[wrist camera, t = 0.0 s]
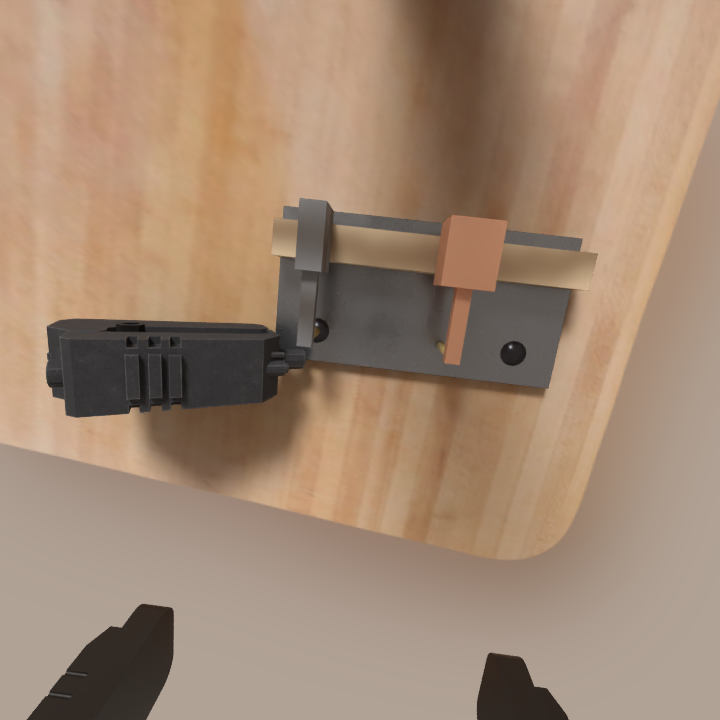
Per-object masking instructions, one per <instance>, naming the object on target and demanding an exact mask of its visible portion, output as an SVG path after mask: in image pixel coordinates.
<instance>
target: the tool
mask: <svg viewBox="0 0 720 720" xmlns="http://www.w3.org/2000/svg"><path fill="white" fill-rule="evenodd" d="M47 335H48V347H49V353H47V359H48V362H47V367H46V379H47V384H48V386H49V387H52V392H53V397H56V398H60V399H64V400H65V411H66V415H67V416H71V417H75V418H78V417H91V416H105V415H118V414H129V412H130V409H131V408H133V407H140V413H144V412H150V410H151V406H160V405H162V411H168V410H171V405H175V404H181V406H182V409H192V408H205V407H217V406H229V405H241V404H253V403H262V402H264V401H266V400H268V399H270V398H272V397H273V396H275V395H277V385H278V376H284V375H285V373H287V372H288V369H302V368H303V367H304V366H305V352H304V350H303V349H279V340H280V335H278V334H277V333H275V332H273V331H272V330H268V328H267V327H265V326H263V325H258V324H240V323H206V322H173V321H139V320H106V319H67V320H59V321H57V322H55V323H53V324H51V325H49V326H47Z"/></svg>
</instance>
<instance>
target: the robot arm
mask: <svg viewBox="0 0 720 720" xmlns="http://www.w3.org/2000/svg"><path fill="white" fill-rule="evenodd" d="M173 613H174V612H173V609H172V608H170V607H163V606H156V605H148V604H141V605H140V606H138V607H137V609H136V610H135V611H134V612H133V613H132V615H131V616H130V618H129V619H128V620H127V622H126V623H125V624H124V626H123V627H122V628H119V627H112V626H111V627H109V628H108V629H107V630H106V631H104V632H103V633H102V634H100V635H99V636H98V637H97V638H95V639H94V640H93V641H92V642H90V643H89V644H88V645H86V647H85V648H84V649H83V650H82V651H81V653H80V654H79V655H78V656H77V658H76V659H75V660H74V662H73V663H72V664H71V665H70V666H69V668H68V669H67V671H66V673H65V675H62V676H61V678H60V679H59V680H58V681H57V683H56V684H55V685H54V686H53V688H52V689H51V690H50V693H49V695H48V696H47V697H45V698H44V699H43V700H42V701H41V703H40V704H39V705H38V707H37V708H36V709H35V710H34V711H33V713H32V714H31V715H30V717H29V718H28V719H27V720H146V719H147V717H148V715H149V713H150V711H151V709H152V707H153V705H154V704H155V702H156V700H157V698H158V696H159V694H160V692H161V690H162V689H163V687H164V685H165V682H166V680H167V677H168V675H169V672H170V668H171V665H172V660H173V639H174V638H173V637H174V635H173V634H174V625H173V624H174V614H173ZM477 719H478V720H568V717H567V715H566V713H565V712H564V711H563V709H562V708H561V707H560V705H559V704H558V703H557V701H556V700H555V699H554V698H553V696H552V695H551V693H550V692H549V691H548V689H546V688H540V687H534V685H533V682H532V679H531V677H530V674H529V672H528V669H527V667H526V664H525V662H524V660H523V659H522V658H520V657H517V656H510V655H503V654H495V653H489V654H488V657H487V660H486V664H485V669H484V673H483V677H482V682H481V686H480V690H479V695H478V701H477Z"/></svg>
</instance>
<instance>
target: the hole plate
mask: <svg viewBox="0 0 720 720" xmlns="http://www.w3.org/2000/svg"><path fill="white" fill-rule="evenodd" d="M298 214H299V207H290V206H284V212H283V219H290V220H298ZM333 224H335V225H344V226H353V227H362V228H371V229H380V230H389V231H398V232H407V233H416V234H425V235H434V236H441V229H442V223H435V222H426V221H417V220H408V219H398V218H389V217H380V216H371V215H362V214H353V213H344V212H335V211H334V216H333ZM504 243H506V244H515V245H524V246H533V247H542V248H551V249H560V250H569V251H578V252H580V248H581V243H582V239H580V238H571V237H562V236H553V235H544V234H535V233H526V232H517V231H507V230H506V234H505V239H504ZM434 276H435V274H428V273H419V272H410V271H401V270H393V269H384V268H375V267H366V266H357V265H349V264H340V263H331V262H329V271H328V273H323V272H320V273H319V285H318V296H317V308H316V320H315V327H319V328H320V330H321V332H320V334H319V335H317V336H316V337H315V338H314V343H313V346H312V347H303V346H296V345H297V332H298V319H299V306H300V293H301V280H302V270H299V269H295V258H287V257H281V259H280V274H279V290H278V306H277V321H276V333H277V334H278V335H280V340H279V349H303V350H304V352H305V359H307V360H315V361H323V362H332V363H340V364H348V365H357V366H365V367H373V368H382V369H390V370H398V371H407V372H415V373H423V374H432V375H440V376H448V377H457V378H465V379H473V380H482V381H490V382H498V383H507V384H515V385H524V386H532V387H540V388H549V383H550V379H551V375H552V370H553V366H554V362H555V357H556V353H557V348H558V344H559V340H560V335H561V331H562V327H563V322H564V318H565V313H566V309H567V305H568V300H569V296H570V292H571V290H569V289H560V288H551V287H542V286H534V285H525V284H516V283H507V282H498V281H497V282H496V288H495V292H492V291H481V290H473V291H472V297H471V303H470V309H469V314H468V320H467V326H466V332H465V337H464V343H463V349H462V355H461V361H460V365H454V364H445V363H444V362H443V354H442V353H441V352H440V350H439V349H438V348H437V343H438V342H440V341H442V342H444V343H446V337H447V331H448V325H449V318H450V312H451V306H452V300H453V294H454V288H455V287H446V286H437V285H433V283H434Z"/></svg>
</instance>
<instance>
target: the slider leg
mask: <svg viewBox="0 0 720 720" xmlns="http://www.w3.org/2000/svg"><path fill="white" fill-rule="evenodd" d="M507 223H508V221H505V220H496V219H487V218H477V217H468V216H459V215H451V216H450V217H449V218H448V219H447V220H445V221H444V222H443V223H442V229H441V236H440V243H439V249H438V256H437V263H436V269H435V276H434V283H433V285H437V286H446V287H455V288H454V294H453V300H452V306H451V312H450V318H449V325H448V331H447V337H446V343H444V342H442V341H440V342H438V343H437V348H438V349H439V350H440V352H441V353H442V354H443V362H444V363H445V364H454V365H460V361H461V355H462V349H463V343H464V337H465V332H466V326H467V320H468V314H469V309H470V303H471V297H472V291H473V290H481V291H492V292H495V288H496V282H497V277H498V272H499V266H500V261H501V256H502V250H503V245H504V239H505V234H506V229H507Z"/></svg>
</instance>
